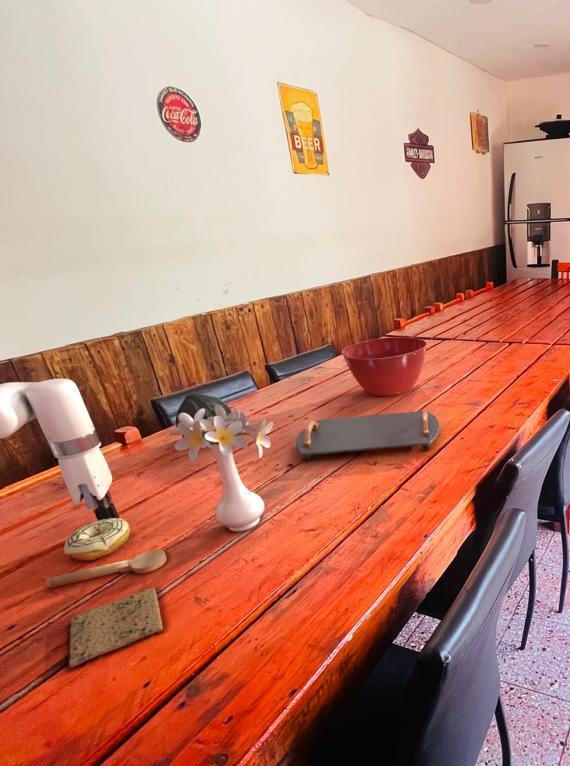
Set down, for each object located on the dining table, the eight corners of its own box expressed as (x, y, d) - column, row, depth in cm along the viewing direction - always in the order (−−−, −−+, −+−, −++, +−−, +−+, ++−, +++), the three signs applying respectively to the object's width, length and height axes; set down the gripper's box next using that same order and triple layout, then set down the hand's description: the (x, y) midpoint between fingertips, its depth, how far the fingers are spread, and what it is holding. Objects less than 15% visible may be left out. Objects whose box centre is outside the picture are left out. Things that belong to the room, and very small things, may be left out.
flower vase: (287, 534, 101) (258, 418, 91) (190, 546, 99) (147, 429, 88) (298, 500, 113) (273, 394, 102) (211, 510, 111) (176, 403, 100)
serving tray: (289, 466, 128) (284, 443, 126) (307, 429, 149) (303, 409, 146) (442, 452, 131) (440, 430, 129) (439, 418, 152) (437, 398, 149)
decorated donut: (57, 567, 96) (48, 550, 94) (87, 533, 105) (80, 518, 103) (116, 559, 97) (108, 543, 95) (141, 527, 106) (135, 512, 105)
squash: (237, 405, 155) (190, 377, 145) (248, 421, 144) (197, 392, 134) (208, 442, 154) (158, 416, 144) (216, 462, 143) (163, 435, 133)
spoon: (42, 598, 88) (38, 590, 87) (53, 578, 93) (49, 570, 92) (164, 568, 94) (161, 560, 93) (168, 551, 98) (165, 543, 97)
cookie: (164, 629, 79) (162, 625, 79) (69, 669, 73) (66, 664, 73) (156, 588, 88) (154, 584, 88) (70, 620, 82) (68, 616, 82)
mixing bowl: (333, 391, 179) (325, 348, 172) (400, 372, 195) (395, 332, 189) (377, 411, 159) (370, 363, 153) (447, 387, 176) (444, 343, 170)
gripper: (64, 432, 104) (98, 509, 112) (38, 463, 91) (78, 546, 99) (107, 425, 106) (137, 500, 114) (87, 454, 93) (123, 536, 101)
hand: (110, 522), depth 107 cm, fingers closed
